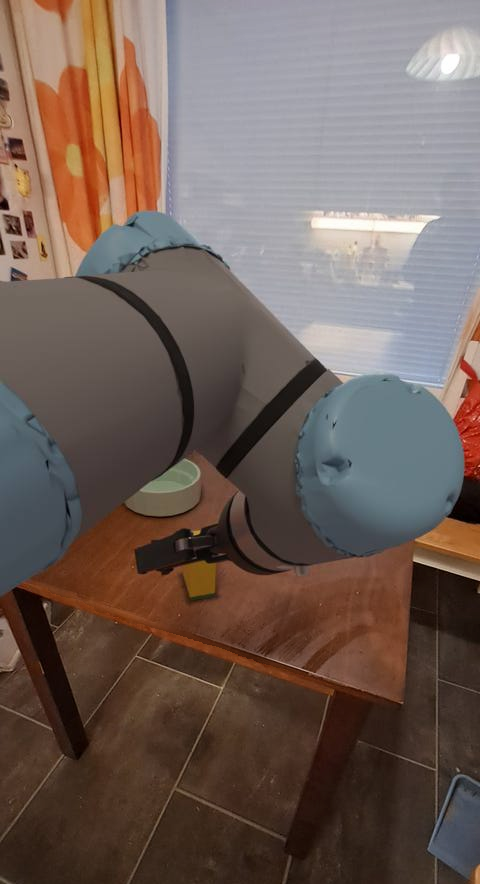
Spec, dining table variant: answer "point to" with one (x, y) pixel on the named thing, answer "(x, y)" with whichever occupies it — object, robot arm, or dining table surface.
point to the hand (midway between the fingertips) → (218, 555)
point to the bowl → (169, 492)
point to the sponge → (200, 578)
